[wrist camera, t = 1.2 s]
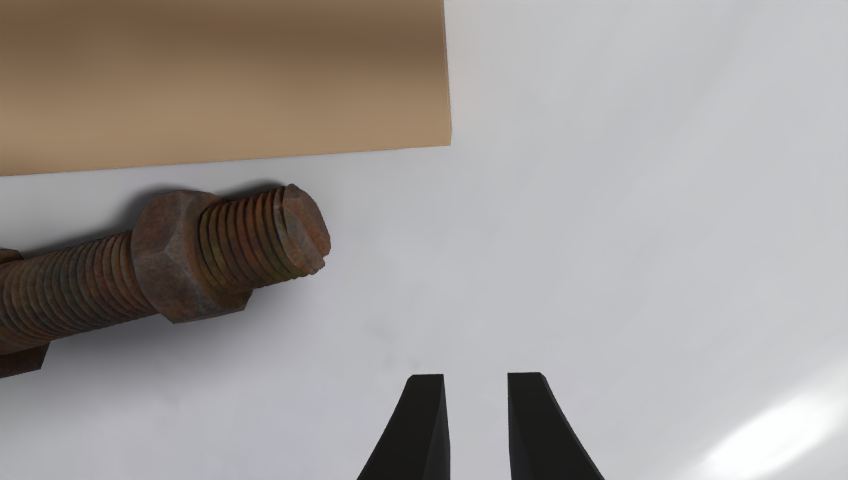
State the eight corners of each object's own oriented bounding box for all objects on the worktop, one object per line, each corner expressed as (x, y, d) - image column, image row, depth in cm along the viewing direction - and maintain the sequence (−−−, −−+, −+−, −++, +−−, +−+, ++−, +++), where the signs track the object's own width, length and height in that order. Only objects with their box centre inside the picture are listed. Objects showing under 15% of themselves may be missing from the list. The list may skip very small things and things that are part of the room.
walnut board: (451, 129, 17) (450, 146, 15) (-156, 173, 19) (-223, 192, 17) (432, -166, 13) (427, -194, 11) (-308, -63, 16) (-414, -72, 14)
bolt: (343, 204, 20) (46, 286, 23) (283, 115, 16) (-71, 226, 19) (346, 332, 17) (-4, 411, 19) (270, 259, 13) (-160, 372, 15)
